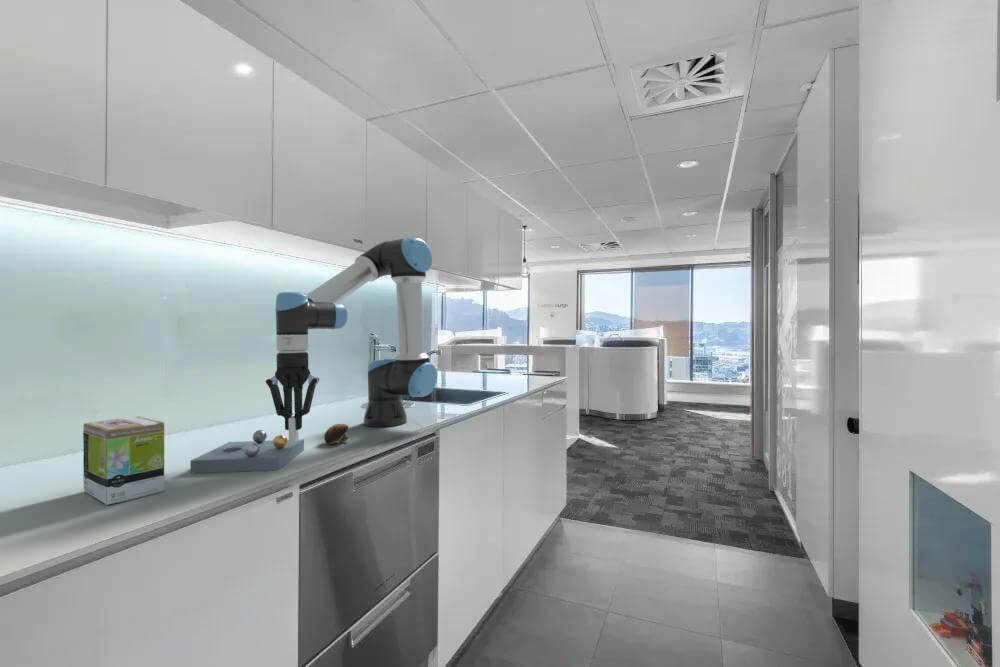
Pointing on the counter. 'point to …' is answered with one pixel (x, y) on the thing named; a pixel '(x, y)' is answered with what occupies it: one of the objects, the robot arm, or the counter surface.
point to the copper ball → (280, 441)
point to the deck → (246, 457)
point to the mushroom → (336, 434)
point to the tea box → (123, 459)
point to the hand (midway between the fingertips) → (293, 442)
